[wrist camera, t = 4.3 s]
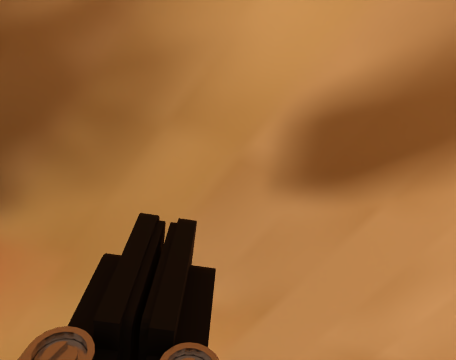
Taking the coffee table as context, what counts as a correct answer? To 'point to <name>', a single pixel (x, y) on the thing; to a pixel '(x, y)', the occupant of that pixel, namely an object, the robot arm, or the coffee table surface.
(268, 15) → the coffee table surface
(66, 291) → the coffee table surface
